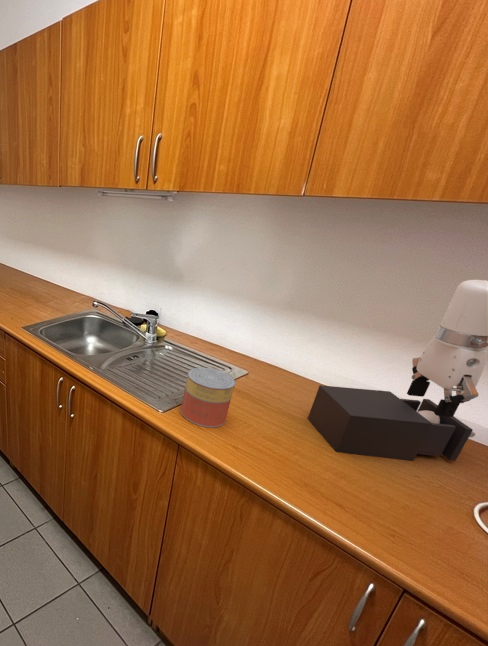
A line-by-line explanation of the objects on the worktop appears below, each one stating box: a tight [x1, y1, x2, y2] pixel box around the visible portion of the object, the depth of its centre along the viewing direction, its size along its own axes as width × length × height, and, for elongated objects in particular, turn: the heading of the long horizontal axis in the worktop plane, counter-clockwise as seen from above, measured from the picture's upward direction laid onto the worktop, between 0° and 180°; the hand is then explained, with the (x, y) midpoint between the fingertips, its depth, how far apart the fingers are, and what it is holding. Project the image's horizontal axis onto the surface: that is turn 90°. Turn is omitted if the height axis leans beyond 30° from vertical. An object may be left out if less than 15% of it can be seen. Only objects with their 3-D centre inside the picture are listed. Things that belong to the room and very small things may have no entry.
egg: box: [417, 410, 440, 424], centre depth 95 cm, size 5×5×7 cm
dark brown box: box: [307, 384, 432, 462], centre depth 97 cm, size 16×14×11 cm
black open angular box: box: [400, 398, 476, 462], centre depth 95 cm, size 18×12×9 cm
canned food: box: [179, 366, 236, 428], centre depth 107 cm, size 11×11×12 cm
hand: (428, 404), depth 93 cm, fingers open, 7 cm apart
